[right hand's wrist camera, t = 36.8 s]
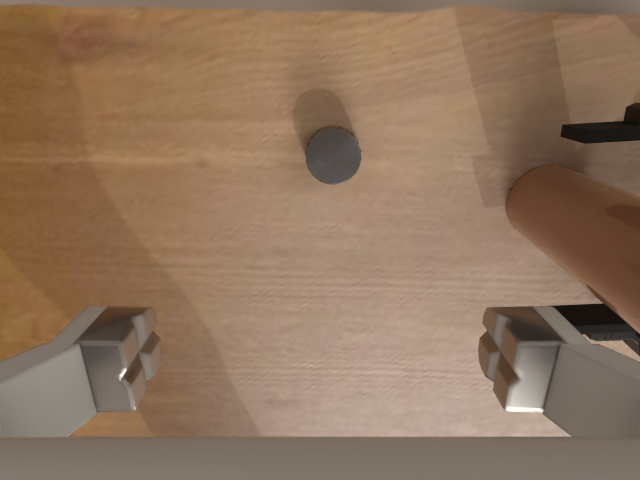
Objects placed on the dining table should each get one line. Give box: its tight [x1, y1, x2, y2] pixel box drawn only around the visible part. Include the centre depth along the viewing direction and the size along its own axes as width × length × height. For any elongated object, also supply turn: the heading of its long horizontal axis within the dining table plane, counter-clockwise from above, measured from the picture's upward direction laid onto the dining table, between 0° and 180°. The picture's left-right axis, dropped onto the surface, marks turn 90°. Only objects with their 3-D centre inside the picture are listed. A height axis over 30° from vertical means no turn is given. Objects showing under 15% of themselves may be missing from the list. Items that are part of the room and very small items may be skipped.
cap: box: [306, 125, 361, 184], centre depth 32 cm, size 4×4×2 cm
